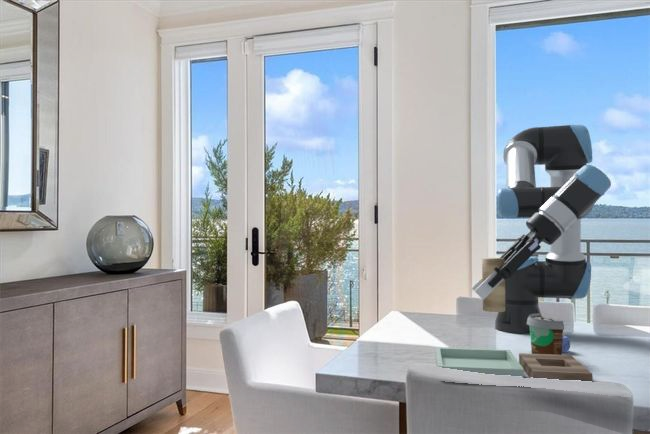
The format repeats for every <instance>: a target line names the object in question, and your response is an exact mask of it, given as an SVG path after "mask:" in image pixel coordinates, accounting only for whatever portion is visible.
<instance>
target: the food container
mask: <svg viewBox="0 0 650 434" xmlns="http://www.w3.org/2000/svg"><path fill="white" fill-rule="evenodd" d="M541 315H542V313H537V314H531V315H529V317H528V319H527V324H528V325H529V327H530V333H529V336H530V347H531V354H554V355H563V353H562V341H563V336H564V330H565V324H564V320H554V319H552V318H546V317H543V316H542V317H541Z"/></svg>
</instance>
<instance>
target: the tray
mask: <svg viewBox="0 0 650 434" xmlns="http://www.w3.org/2000/svg"><path fill="white" fill-rule="evenodd" d="M435 362H436V363H435V364H436V367H437V366H438V367H442V368H450V369H457V370H463V371H470V372H478V373H485V374H495V375H511V376H522V377H524V378H525V371H524V369H523V367H522V366H521V365H520V363H519V360H518V359H517V358H516V356H515V355H514V354H513V352H512V351H511V350H510V349H497V348H496V349H493V348H492V349H491V348H490V349H489V348H466V347H465V348H464V347H463V348H461V347H460V348H459V347H438V346H436V347H435Z"/></svg>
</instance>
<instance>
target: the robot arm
mask: <svg viewBox="0 0 650 434" xmlns="http://www.w3.org/2000/svg"><path fill="white" fill-rule="evenodd" d="M592 147H593V146H592V141H591V135H590V132H589V130H588V127H587V126H585V125H583V124H567V125H566V124H565V125H554V126H553V125H552V126H540V127H539V126H536V127H534V126H533V127H531V128H527V129H524V130H522V131H520V132H518V133H517V134H515V135H514V136H513V137H512V138H511V139H509V140H508V142H507V144H506V145H505V147H504V149H503V155H502V156H503V162H504V164H505V165H506V177H505V179H506V181H505V183H506V184H505V187H504V188H503V187H502V188H500V189H498V191H497V214H498V216H499V217H501V218H510V219H511V218H512V219H516V218H523V219H524V218H529V219H528V220H526V222H525V225H526V227H527V229H528V230H530V231H529V232H528V233H527V234H522V235H521V236H520V237H518V238H517V239H516V240H515V242H514V243H513V244H512V245H511V246H510V247H509V248H508V249H506V251H505V252H504V253H502V255H500V257H499V258H504V259H505V262H504V263H503V264H502V265H501V267H500V268H499V269H498V268H497V267H495V268H494V270H495V271H496V272H497V273H496V272H495V271H494V272H493V273H492V274H491V275H490V276H489V277H488V278H487V279H486V280H485V281H484V282H483V283H482V277H481V278H479V279H478V280H477V281H476V282H475V284H474V285H473V286H472V287H470V288H471V290H472V291H473V292H474V293H475V294H477V296H479V297H480V299H482V301H483V300H484V299H485V298H486V297H487V296H488V295H489V294H490V293H491V292H492V291H493V290H494V289H495V288H496V287H497V286H498V285H499V284H500V283H501V282H502V281H503V280H504V279H505V310H506V311H504V312H497V314H496V317H495V320H494V329H496V330H498V331H502V332H506V333H514V334H530V327H529V325H528V324H527V319H528V317H529V315H531V314H537V313H541V310H540V306H539V299H540V298H545V299H547V298H548V299H565V300H566V299H568V300H574V299H575V300H577V299H581V300H582V299H585V298H586V296H587V295H588V293H589V290H590V287H591V280H592V264H591V262H590V261H587V260H586V258H587V257H586V255H584V253H583V252H582V251H581V249H582V248H581V243H582V242H581V241H582V240H581V238H582V237H581V234H582V232H581V226H582V224H581V223H582V219H584V218H586V216H588V215H589V214H590V213H591V212H592V210H593V208H594V206H595V204H596V202H598V200H600V198H601V197H602V196H604V195H605V194H606V192H607V191H608V190H609V189H610V188H611V187H612V186H611V185H612V182H611V179H610V178H609V176H608V175H607V174H606V173H605V172H603V171H602V170H601V169H600V168H598V167H597V166H594V165H592V164H591V163H592V162H593V148H592ZM535 165H536V166H537V165H538V166H542V165H543V166H544V168H545V169H544V171H545V172H546V173H547V174H548V175H549V176H550V186H546V187H545V186H542V187H541V186H540V187H538V186H537V181H536V170H535V168H536V167H535ZM542 242H543V243H545V244H546V245H548V246H549V245H550V250H549V251H548V253H546V254H545V257H544V258H545V259H544V261H542V260H541V261H539V258H538V257H537V256H533V255H534V254H535V253H536V252H538V251H539V250H540V249H541V248H542V246H541V245H540V244H541V243H542ZM541 317H543V315H542V313H541Z"/></svg>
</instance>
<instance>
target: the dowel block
mask: <svg viewBox="0 0 650 434" xmlns="http://www.w3.org/2000/svg"><path fill="white" fill-rule="evenodd" d="M518 362H519V363H520V365H521V366H522V367H523V369H524V373H525V374H526V375H527V377H528V378H529V377H533V378H547V379H559V380H581V381H593V373H592V372H591V370H589V369H588V368H587V367H585V366H584V365H583V364H582V363H581V362H580V361H579V360H577V358H575V357H574V356H573V355H571V354H562V355H554V354H532V353H521V352H520V353H518ZM593 382H594V381H593Z"/></svg>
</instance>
